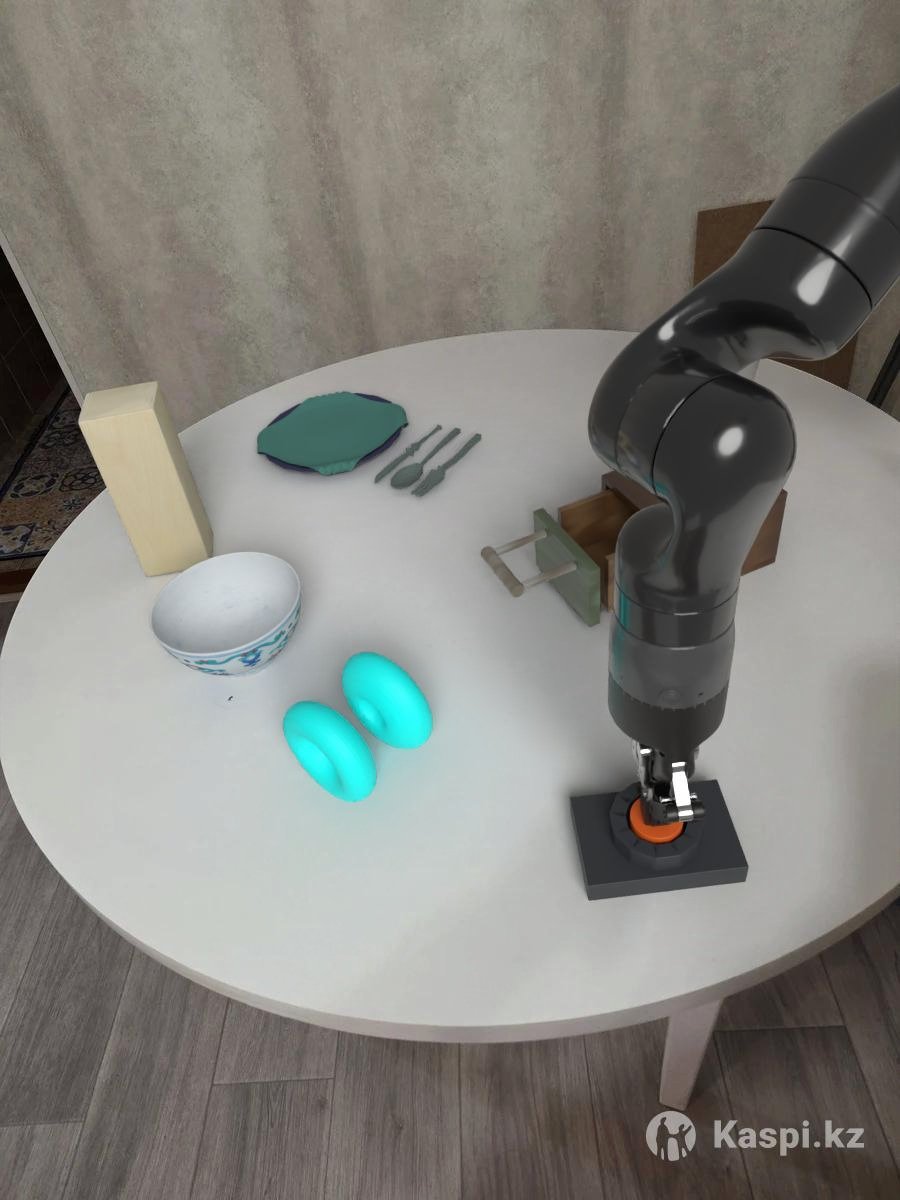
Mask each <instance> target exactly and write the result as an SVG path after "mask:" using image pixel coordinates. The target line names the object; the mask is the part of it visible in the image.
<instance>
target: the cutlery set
mask: <svg viewBox="0 0 900 1200" xmlns="http://www.w3.org/2000/svg"><path fill="white" fill-rule="evenodd" d="M409 425H410V423H409V421H408V418H407V413H406V410H405V408H403V406H401V405H400V404H397V403H393V402H392V401H390V400H388V399H386V398H383V397H381V396H378V395H375V394H369V393H362V392H361V393H360V392H350V391H347V390H344V391H341V392H338V391H336V392H334V393H328V394H322V395H320V396H319V395H315V396H313V397H308V398H305V400H304V401H302V402H301V403H298V404H295V405H294V406H292V407H290V408H288V409H287V410H284V411H283V412H281V413H279V414H278V415H277V416H276V417H275V418H274V419H272V421H270V423H268V424H267V426H266V427H265V428H263V429H261V431H259V432H258V435H257V437H256V442H257V443H256V444H257V445H256V447H257V449H256V454H257V455H260V456H265V457H266V458H267V459H268V461H269V462H271V463H273V464H275V465H277V466H279V467H281V468H282V469H287V470H290V471H291V470H292V471H296V472H302V473H312V472H313V473H318V472H319V474H322V475H325V476H330V475H334V474H335V475H336V474H338V473H345V472H351V471H352V470H353V469H354V468H355V466H356V465H358V464H360V463H363V462H366V461H368V460H371V459H373V458H374V457H376V456H377V455H379V454H380V453H382V452H384V451H386V450H387V449H389V447H390V446H391V445H392V444H393V443H394V442H395V441H396V440H397V439H398V437H400V435H401V431H402V428H403V429H405V428H407V427H408V426H409ZM442 430H443V427H442V425H441V424H438V423H437V425H436V427H434V428H433V429H432V431H430V432H429V433H428V434H427V435H425V436H424V437H422V438H421V439H419V440H418V441H417V442H413V443H410V447H405V451H406V452H404V453H402V454H400V455H399V456H398V457H396V458H395V459H393V460H392V461H391V462H390V463H389V464H387V465H386V466H385V467H384V468H383V469H381V470H380V471H379V472H378V473H377V474H376V475H375V476H374V484H377V483H379V482H380V481H381V480H382V479H383V478H384V477H386V476H388V474H389V473H390V472H392V471H393V470H394V469H395V468H397V467H398V466H399V465H400V464H401V463H403V461H405V460H406V459H407V458H409V456H410V457H413V458H414V457H415V456H414V455H415V454H414V453H415V452H417V451H419V450H420V448H421V445H422V444H423V443H425V442H427V440H428V439H429V438H430V437H431V436H433V435H434V434H435V433H437V432H438V431H442ZM460 434H462V432H461V428H459V427H454V428H453V429H451V431H449V432H448V433H447V435H446V436H445V437H443V438H442V440H441V441H439V443H437V444H436V446H435V447H434V448H432V450H430V452H429V453H428V454H427V455H426V456H425V457H424V458H423V460H422V461H421V462H415V463H412V464H408V465H405V466H404V467H402V468H401V469H399V470H397V471H396V472H395V473H394V474H393V476H392V477H391V478H390V485H389V487H392V488H396V489H400V488H403V487H408V486H410V485H412V484H413V483H415V482H416V481H418V480H419V479H420V477H421V476H422V475H423V472H424V465H425V464H426V463H428V461H429V460H430V459H431V458H433V457H434V456H435V455H436V454H437V453H438V452H439V451H440V450H441V449H443V448H444V447H445V446H447V444H449V442H451V441H452V440H454V439H455V438H456V437H458V436H459V435H460ZM480 441H482V434H481V433H477V432H476V433H475V434H474V435H473V436H472V437H471V438H470V439H469V440H468V441H467V442H466V443H465V444H464V446H462V448H460V450H458V451H457V452H456V454H454V455H453V456H452V457H451V458H450V459H449V460H447V461H446V462H444V463H443V464H442V465H437V468H435V469H430V471H429V473H428V474H427V475H426V477H424V478H423V480H422V481H421V482H420V484H418V485H417V487H415V488H414V490H412V491H411V492H410V495H414V496H416V497H417V496H418V497H419V498H421V497H423V496H425V494H427V493H428V492H429V491H430V490H432V489H433V488H434V487H436V486H437V485H438V484H440V483H441V482H442V481H443V480H445V475H446V471H447V470H448V469H449V468H451V467H452V466H454V465H456V464H457V462H459V461H461V459H462V458H463V457H464V456H465V455H466V454H467V453H468V452H469V451H470V450H471V449H472V448H473V447H474V446H475V445H477V444H478V443H479V442H480Z"/></svg>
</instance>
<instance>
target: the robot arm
mask: <svg viewBox="0 0 900 1200" xmlns="http://www.w3.org/2000/svg"><path fill="white" fill-rule="evenodd" d="M899 280H900V81H899V82H898V83H896V84H895V85H893V86H892V87H890V88H888V89H887V90H885V91H884V92H882V93H881V94H879V95H878V96H877V97H875V98H873V99H872V100H871V101H869V102H868V103H866V104H865V105H864V106H862V107H861V108H859V109H858V110H857V111H856V112H854V113H853V114H852V115H851V116H849V117H848V118H847V119H845V120H844V121H843V122H842V123H841V124H840V125H838V126H837V127H836V128H835V129H834V130H833V131H831V132H830V134H828V135H827V136H826V138H824V139H823V141H821V142H820V144H819V145H817V147H816V148H815V149H814V150H813V151H812V152H811V154H809V156H808V157H807V158H806V159H805V160H804V161H803V163H802V164H801V165H800V166H799V168H798V169H797V171H796V172H795V173H794V174H793V175H792V177H791V178H790V179H789V180H788V182H786V184H785V186H784V187H783V189H782V190H781V191H780V192H779V194H778V195H777V197H776V198H775V199H774V201H773V202H772V203H771V204H770V205H769V207H768V209H767V210H766V211H765V213H764V214H763V216H761V218H760V219H759V221H758V222H757V223H756V225H755V226H754V227H753V229H751V231H750V233H749V234H748V235H747V236H746V237H745V239H744V241H743V242H742V243H741V245H740V247H739V248H738V249H737V250H736V252H735V253H734V254H733V255H732V257H730V258H729V259H728V260H727V261H726V262H725V263H723V264H722V265H721V266H720V267H719V268H717V269H716V270H714V271H713V272H712V273H710V274H709V275H708V276H707V277H705V278H704V279H703V280H701V281H699V283H697V285H695V286H694V287H693V288H692V289H691V290H689V291H688V292H687V293H686V294H685V295H683V297H681V298H680V299H679V300H677V301H676V302H675V303H674V304H673V305H672V306H671V307H670V308H668V309H667V310H666V311H665V312H664V313H662V314H661V315H660V316H658V317H657V318H656V319H655V320H654V321H653V322H651V323H650V324H649V325H648V326H647V327H645V328H644V329H643V330H642V331H640V333H639V334H637V336H635V337H634V338H633V339H632V340H631V341H630V342H629V343H627V344H626V346H624V348H623V349H622V350H621V351H620V352H619V353H618V354H617V355H616V357H615V358H614V359H613V360H612V362H611V363H610V364H609V365H608V367H607V368H606V370H605V371H604V373H603V375H602V376H601V378H600V380H599V382H598V384H597V386H596V388H595V390H594V393H593V396H592V399H591V402H590V405H589V409H588V415H587V416H588V417H587V435H588V436H587V437H588V441H589V444H590V446H591V449H592V450H593V452H594V454H595V455H596V457H598V459H600V461H601V462H602V463H603V464H604V465H606V466H607V467H608V468H610V470H612V471H616V472H617V473H619V474H620V475H622V476H623V477H625V478H627V479H628V480H630V481H632V482H633V483H635V484H636V485H638V486H639V487H641V488H642V489H644V490H645V491H647V492H648V493H650V494H651V495H653V496H654V497H656V498H658V499H659V500H661V501H662V502H664V503H661V504H656V505H652V506H649V507H646V508H644V509H642V510H640V511H638V512H637V513H635V514H634V515H632V516H631V517H630V518H629V519H628V520H627V522H626V523H625V524H624V526H623V528H622V529H621V531H620V533H619V536H618V540H617V544H616V549H615V563H614V606H613V610H612V614H611V618H610V622H609V631H608V661H607V662H608V664H607V665H608V669H607V670H608V671H607V675H608V676H607V706H608V711H609V714H610V717H611V718H612V720H613V722H614V723H615V725H616V726H617V728H618V729H619V730H620V731H621V732H623V734H624V735H626V736H627V737H629V738H630V739H631V752H632V755H633V758H634V761H635V762H634V763H636V764H637V771H636V774H637V778H638V779H639V781H640V782H641V799H640V809H641V813H642V816H643V820H644V823H645V825H648V826H651V827H655V826H663V825H670V824H671V823H676V822H684V821H692V820H700V819H705V813H706V810H705V806H704V805H703V803H702V801H701V800H698V799H697V794H696V793H695V792H694V793H689V789H688V783H690V781H691V778H693V776H694V775H695V771H696V760H697V759H698V758H699V753H700V745H702V744H703V743H704V742H706V741H707V740H708V739H709V738H710V737H712V736H713V735H714V734H715V733H716V732H717V730H719V728H720V726H721V724H722V722H723V719H724V717H725V712H726V706H727V700H728V699H727V698H728V692H729V687H730V686H729V685H730V679H731V672H732V665H733V659H734V654H735V653H734V652H735V648H736V647H735V646H736V622H735V618H736V611H737V604H738V597H739V590H740V589H739V588H740V582H741V576H740V575H741V568H742V566H743V564H744V561H745V559H746V557H747V555H748V553H749V551H750V549H751V547H752V545H753V543H754V541H755V539H756V537H757V535H758V533H759V531H760V528H761V526H762V524H763V522H764V521H765V519H766V517H767V515H768V513H769V511H770V509H771V508H772V506H773V504H774V503H775V501H776V499H777V498H778V496H779V494H780V492H781V491H782V489H784V488H785V485H786V483H787V481H788V479H789V477H790V475H791V474H792V471H793V468H794V466H795V462H796V458H797V451H798V441H797V440H798V439H797V431H796V426H795V421H794V419H793V416H792V413H791V411H790V409H789V407H788V405H787V404H786V402H785V401H784V400H783V399H782V398H781V397H780V396H779V395H778V394H777V393H775V392H774V391H773V390H771V389H770V388H768V387H766V386H764V385H763V384H760V383H758V382H757V381H755V380H754V381H752V380H749V379H747V378H745V377H743V376H740V375H738V374H737V373H738V372H740V371H741V370H743V369H744V368H746V367H747V366H749V365H750V364H752V363H754V362H755V361H758V360H760V361H761V360H766V359H785V360H786V359H788V360H796V361H806V362H807V361H808V362H814V361H822V360H826V359H828V358H831V357H832V356H834V355H835V354H837V353H838V352H839V351H841V350H842V349H843V348H844V347H845V346H846V345H847V344H848V343H849V342H850V341H851V339H853V337H854V336H855V335H856V333H857V332H858V331H859V330H860V329H861V327H862V326H863V325H864V324H865V323H866V321H867V320H868V319H869V317H870V316H871V315H872V314H873V312H874V311H875V310H876V308H877V307H878V306H879V305H880V303H881V302H882V301H883V300H884V298H885V297H886V296H887V295H888V294H889V292H890V291H891V289H892V288H893V287H894V286H895V284H896V283H897V282H898V281H899Z"/></svg>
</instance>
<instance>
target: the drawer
mask: <svg viewBox="0 0 900 1200" xmlns="http://www.w3.org/2000/svg"><path fill="white" fill-rule="evenodd" d="M635 513H636V512H635V511H634V510H633V509H632V508H631V507H630V506H629V505H628V504H626V503H625V502H624V501H623V500H622V499H621V498H620V497H619V496H618V495H617V494H616V493H614V492H613V491H612V490H611V489H608V490H606V491H603V492H602V491H599V492H597V493H594V494H592V495H589V496H587V497H584V498H581V499H579V500H576V501H573V502H571V503H568V504H565V505H563V506H560V507H557V521H556V519H554V518H553V517H552V515H551V514H550V513H549V512H548V511H547V510H546V509H545V508H544V507H540V508H538V509H535V510H533V511H532V516H533V517H532V519H533V520H532V521H533V533H531V534H528V535H526V536H522V537H520V538H518V539H515V540H512V541H510V542H507V543H504V544H500V545H499V546H496V547H492V546H490V545H488V546H487V545H486V546H483V548H482V549H481V550H480V554H479V555H480V557H481V559H483V561H484V562H485V564H486V565H487V566H488V567H489V568H490V570H491V571H492V572H493V574H495V576H496V577H497V579H498V580H499V581H500V582H501V584H502V585H503V587H505V589H506V590H507V591H508V592H509V594H510V595H511V596H512V597H513V598H519V597H521V596H522V595H523V594H524V593H525V590H527V589H530V588H532V587H536V586H537V585H540V584H543V583H545V582H550V583H551V584H552V585H553V586H554V587H555V589H557V591H558V592H559V593H560V595H562V596H563V598H564V599H565V600H566V601H567V602H568V603H569V605H570V606H571V607H572V608H573V609H574V610H575V612H576V613H577V614H578V615H579V616H580V618H582V620H583V621H584V622H585V623H586V624H587V626H588V627H589V628H592V627H594V626H597V625H599V624H601V607H602V608H603V609H604V610H605V611H606V612H607V613H610V612H613V606H614V563H615V549H616V544H617V540H618V536H619V533H620V531H621V529H622V528H623V526H624V524H625V523H626V522H627V520H628V519H629V518H630V517H631V516H632V515H634V514H635ZM531 543H534V550H535V563H536V564H535V565H536V566H537V567H538V569H539V570H540V571H541V572H542V573H541V574H539V575H536V576H534V577H530V578H528V579H526V580H523V581H520V580H519V579H518V578H517V577H516V575H515V574H514V572H512V570H511V569H510V568H509V566H508V565H507V564H506V563H505V562H504V560H503V559H502V557H500V555H502V554H505V553H508V552H511V551H513V550H516V549H519V548H521V547H523V546H527V545H529V544H531Z"/></svg>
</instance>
